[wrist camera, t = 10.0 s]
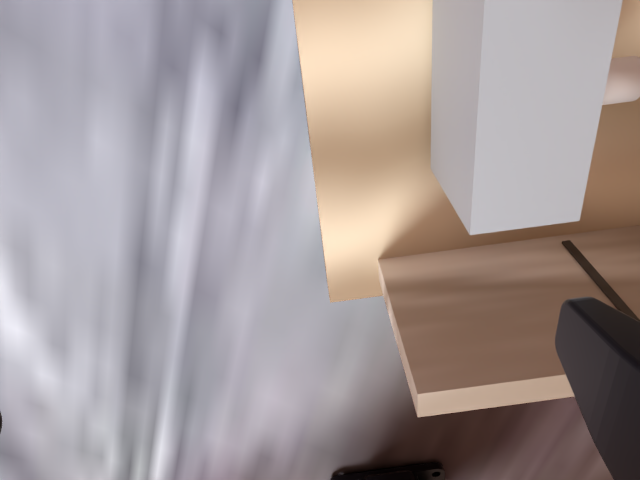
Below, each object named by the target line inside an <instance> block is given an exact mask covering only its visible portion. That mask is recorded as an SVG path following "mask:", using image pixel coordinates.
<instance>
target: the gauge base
mask: <svg viewBox="0 0 640 480" xmlns="http://www.w3.org/2000/svg"><path fill="white" fill-rule="evenodd" d="M292 2H293V10H294V18H295V26H296V34H297V42H298V50H299V58H300V67H301V75H302V83H303V91H304V99H305V107H306V115H307V123H308V131H309V139H310V147H311V155H312V163H313V171H314V179H315V187H316V195H317V204H318V212H319V220H320V228H321V236H322V244H323V252H324V260H325V268H326V276H327V283H328V290H329V297H330V302H338V301H346V300H353V299H361V298H368V297H376V296H384V300H385V303H386V307H387V310H388V314H389V317H390V321H391V325H392V328H393V332H394V335H395V339H396V342H397V346H398V349H399V353H400V356H401V360H402V364H403V367H404V371H405V374H406V378H407V381H408V385H409V388H410V392H411V395H412V399H413V403H414V406H415V410H416V413H417V417H425V416H432V415H440V414H447V413H455V412H462V411H470V410H477V409H485V408H492V407H500V406H507V405H515V404H522V403H530V402H537V401H545V400H552V399H559V398H567V397H574V393H573V391H572V389H571V386H570V384H569V381H568V379H567V377H566V374H565V372H564V369H563V367H562V365H561V362H560V360H559V357H558V355H557V352H556V348H555V335H556V329H557V324H558V319H559V314H560V308H561V305H562V303H563V302H564V301H565V300H567V299H572V298H580V297H594V298H596V299H598V300H600V301H602V302H604V303H606V304H608V305H609V306H611V307H613V308H615V309H617V310H619V311H621V312H623V313H625V314H626V315H628V316H630V317H632V318H634V319H636V320H638V321H640V97H639V98H638V99H637V100H635V101H631V102H623V103H615V104H607V105H602V109H601V114H600V119H599V124H598V129H597V134H596V139H595V144H594V149H593V154H592V159H591V165H590V170H589V175H588V180H587V185H586V190H585V195H584V200H583V205H582V210H581V216H580V221H575V222H567V223H559V224H552V225H544V226H537V227H529V228H521V229H514V230H506V231H499V232H491V233H483V234H476V235H469V233H468V231H467V229H466V228H465V226H464V224H463V223H462V221H461V219H460V218H459V216H458V214H457V213H456V211H455V209H454V207H453V206H452V204H451V202H450V201H449V199H448V197H447V196H446V194H445V192H444V191H443V189H442V187H441V185H440V184H439V182H438V180H437V179H436V177H435V175H434V174H433V172H432V170H431V88H432V5H433V0H292ZM627 56H638V57H639V58H640V0H623V2H622V7H621V12H620V17H619V22H618V27H617V32H616V37H615V42H614V47H613V53H612V58H620V57H627ZM612 58H611V59H612Z"/></svg>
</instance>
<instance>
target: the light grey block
mask: <svg viewBox="0 0 640 480" xmlns="http://www.w3.org/2000/svg"><path fill="white" fill-rule="evenodd" d="M622 2H623V0H433V5H432V88H431V170H432V172H433V174H434V175H435V177H436V179H437V180H438V182H439V184H440V185H441V187H442V189H443V191H444V192H445V194H446V196H447V197H448V199H449V201H450V202H451V204H452V206H453V207H454V209H455V211H456V213H457V214H458V216H459V218H460V219H461V221H462V223H463V224H464V226H465V228H466V229H467V231H468V233H469V235H476V234H483V233H491V232H499V231H506V230H514V229H521V228H529V227H537V226H544V225H552V224H559V223H567V222H575V221H580V216H581V210H582V205H583V200H584V195H585V190H586V185H587V180H588V175H589V170H590V165H591V159H592V154H593V149H594V144H595V139H596V134H597V129H598V124H599V119H600V114H601V109H602V105H607V104H615V103H623V102H631V101H635V100H637V99H638V98H639V97H640V58H639V57H638V56H627V57H620V58H612V53H613V47H614V42H615V37H616V32H617V27H618V22H619V17H620V12H621V7H622ZM611 58H612V59H611Z"/></svg>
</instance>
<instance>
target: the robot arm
mask: <svg viewBox="0 0 640 480" xmlns="http://www.w3.org/2000/svg"><path fill="white" fill-rule="evenodd" d="M555 348H556V352H557V355H558V357H559V360H560V362H561V365H562V367H563V369H564V372H565V374H566V377H567V379H568V381H569V384H570V386H571V389H572V391H573V393H574V396H575V398H576V401H577V403H578V406H579V408H580V410H581V413H582V415H583V418H584V420H585V422H586V425H587V427H588V430H589V432H590V434H591V436H592V439H593V441H594V443H595V445H596V447H597V449H598V451H599V453H600V455H601V457H602V459H603V460H604V462H605V464H606V466H607V468H608V470H609V471H610V473H611V475H612V477H613V479H614V480H640V321H638V320H636V319H634V318H632V317H630V316H628V315H626V314H625V313H623V312H621V311H619V310H617V309H615V308H613V307H611V306H609V305H608V304H606V303H604V302H602V301H600V300H598V299H596V298H594V297H580V298H572V299H567V300H565V301H564V302H563V303H562V305H561V308H560V314H559V319H558V324H557V329H556V335H555ZM1 428H2V416H1V412H0V432H1ZM331 480H445V472H444V468H443V465H442V464H441V463H428V464H420V465H413V466H405V467H398V468H390V469H383V470H376V471H368V472H361V473H353V474H346V475H338V476H334V477H333V478H331Z"/></svg>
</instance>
